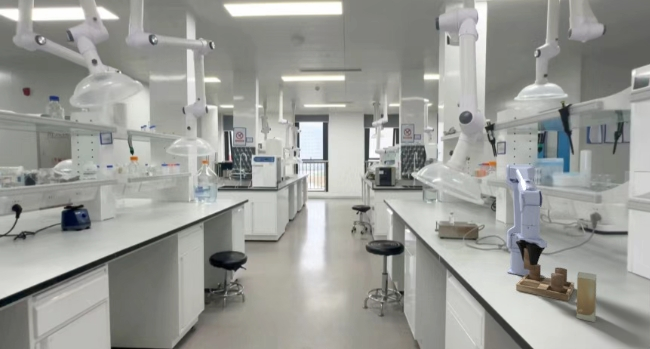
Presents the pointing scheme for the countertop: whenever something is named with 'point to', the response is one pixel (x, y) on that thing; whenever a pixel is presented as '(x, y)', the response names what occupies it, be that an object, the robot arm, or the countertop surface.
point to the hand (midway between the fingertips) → (529, 263)
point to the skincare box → (586, 296)
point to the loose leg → (527, 261)
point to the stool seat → (547, 284)
